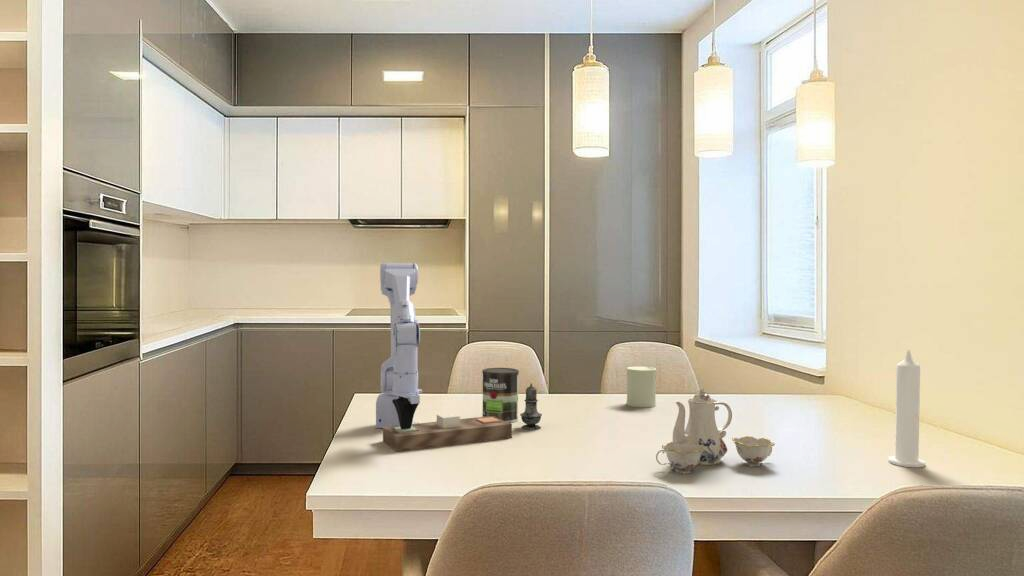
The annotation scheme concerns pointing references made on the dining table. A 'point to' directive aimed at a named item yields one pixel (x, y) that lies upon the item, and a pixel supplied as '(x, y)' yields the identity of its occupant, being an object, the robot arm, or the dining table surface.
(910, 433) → the candle
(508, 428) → the brown long flat block
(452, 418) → the offwhite key
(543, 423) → the dining table surface
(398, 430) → the sage key
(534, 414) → the salt shaker
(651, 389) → the can
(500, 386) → the coffee can
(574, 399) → the dining table surface
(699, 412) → the chinaware
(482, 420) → the terracotta key
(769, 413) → the dining table surface
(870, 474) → the dining table surface
